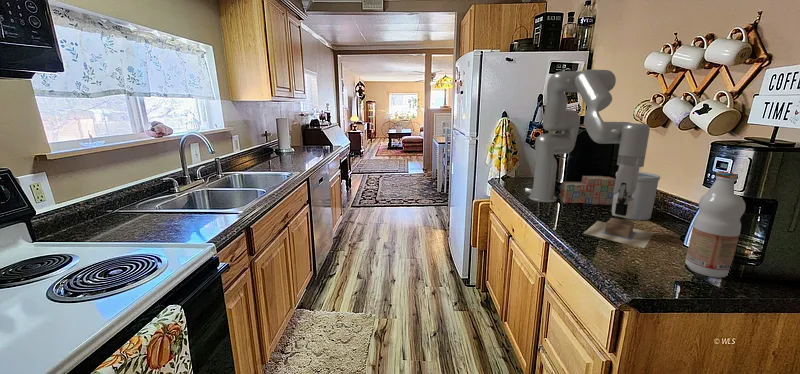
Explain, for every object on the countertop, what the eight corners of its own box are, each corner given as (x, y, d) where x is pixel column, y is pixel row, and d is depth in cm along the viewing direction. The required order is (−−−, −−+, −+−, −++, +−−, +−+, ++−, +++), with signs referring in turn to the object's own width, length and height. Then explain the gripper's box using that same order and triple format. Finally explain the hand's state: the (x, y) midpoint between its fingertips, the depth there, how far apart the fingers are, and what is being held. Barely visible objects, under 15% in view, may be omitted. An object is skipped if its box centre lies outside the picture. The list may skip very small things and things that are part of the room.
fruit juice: (683, 271, 95) (705, 173, 88) (684, 259, 102) (705, 167, 95) (730, 282, 89) (757, 178, 82) (727, 269, 96) (752, 172, 89)
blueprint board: (582, 236, 120) (582, 233, 119) (597, 223, 132) (597, 220, 132) (643, 251, 108) (644, 248, 107) (653, 235, 120) (654, 232, 120)
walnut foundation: (604, 233, 120) (606, 222, 119) (609, 227, 124) (611, 217, 123) (627, 238, 115) (629, 227, 114) (632, 232, 120) (634, 222, 119)
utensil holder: (611, 207, 152) (617, 169, 148) (652, 213, 144) (659, 173, 140) (608, 216, 140) (614, 174, 136) (652, 223, 132) (660, 179, 128)
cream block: (611, 215, 118) (614, 198, 116) (615, 211, 121) (618, 195, 120) (628, 218, 114) (631, 201, 113) (632, 214, 118) (634, 198, 116)
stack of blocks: (564, 203, 158) (567, 178, 155) (559, 200, 164) (562, 175, 161) (612, 205, 156) (616, 178, 153) (605, 201, 162) (609, 176, 159)
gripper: (623, 157, 122) (616, 205, 126) (611, 162, 110) (603, 216, 114) (648, 159, 117) (640, 209, 121) (638, 165, 105) (629, 221, 109)
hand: (622, 212), depth 118 cm, fingers closed on cream block, 4 cm apart
